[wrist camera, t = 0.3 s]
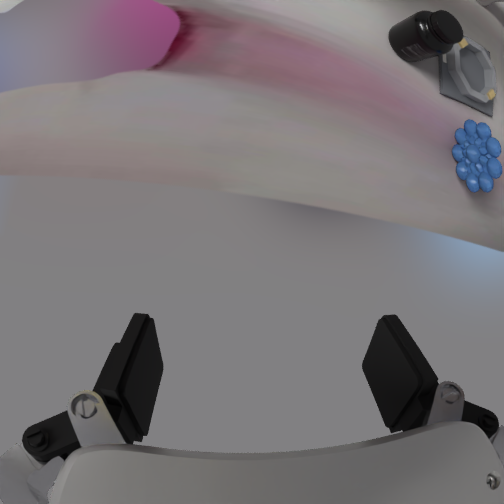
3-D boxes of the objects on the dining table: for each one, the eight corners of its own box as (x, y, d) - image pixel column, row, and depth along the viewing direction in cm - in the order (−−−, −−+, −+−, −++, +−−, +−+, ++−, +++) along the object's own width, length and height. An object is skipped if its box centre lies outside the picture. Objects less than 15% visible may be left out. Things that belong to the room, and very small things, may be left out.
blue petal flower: (463, 186, 39) (509, 206, 28) (439, 179, 38) (486, 199, 27) (472, 125, 34) (520, 133, 23) (447, 114, 34) (497, 118, 23)
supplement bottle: (429, 54, 29) (476, 43, 19) (404, 68, 31) (451, 57, 20) (405, 19, 27) (448, -1, 16) (378, 32, 29) (420, 9, 18)
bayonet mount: (435, 23, 26) (447, 19, 23) (486, 52, 27) (498, 50, 24) (439, 93, 32) (453, 92, 29) (489, 116, 33) (502, 117, 30)
